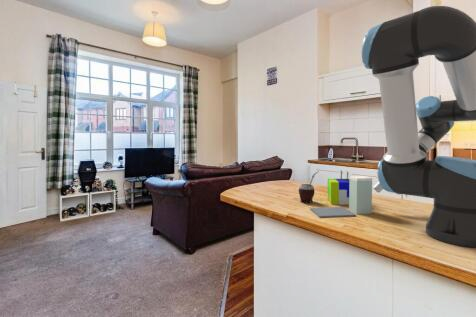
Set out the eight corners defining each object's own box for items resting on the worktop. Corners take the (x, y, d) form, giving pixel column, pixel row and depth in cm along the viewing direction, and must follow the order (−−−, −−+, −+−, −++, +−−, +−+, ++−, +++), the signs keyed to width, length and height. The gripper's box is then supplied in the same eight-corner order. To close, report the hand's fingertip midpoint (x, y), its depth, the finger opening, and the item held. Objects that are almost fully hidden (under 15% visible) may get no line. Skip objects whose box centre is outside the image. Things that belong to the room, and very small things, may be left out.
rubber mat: (342, 208, 107) (342, 206, 107) (355, 216, 96) (355, 214, 96) (310, 209, 106) (310, 208, 106) (319, 217, 95) (319, 216, 95)
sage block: (363, 209, 104) (363, 175, 103) (371, 213, 98) (372, 178, 97) (349, 209, 104) (349, 176, 103) (356, 214, 98) (356, 178, 97)
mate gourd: (296, 200, 121) (296, 169, 120) (311, 199, 123) (311, 168, 122) (304, 204, 114) (303, 171, 113) (319, 203, 116) (319, 170, 114)
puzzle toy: (354, 204, 112) (354, 182, 111) (330, 204, 114) (331, 182, 113) (349, 199, 122) (349, 178, 121) (327, 198, 124) (327, 178, 123)
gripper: (437, 154, 94) (392, 200, 95) (412, 152, 107) (373, 192, 108) (424, 140, 94) (378, 186, 94) (400, 140, 107) (361, 181, 107)
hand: (375, 190), depth 101 cm, fingers closed
